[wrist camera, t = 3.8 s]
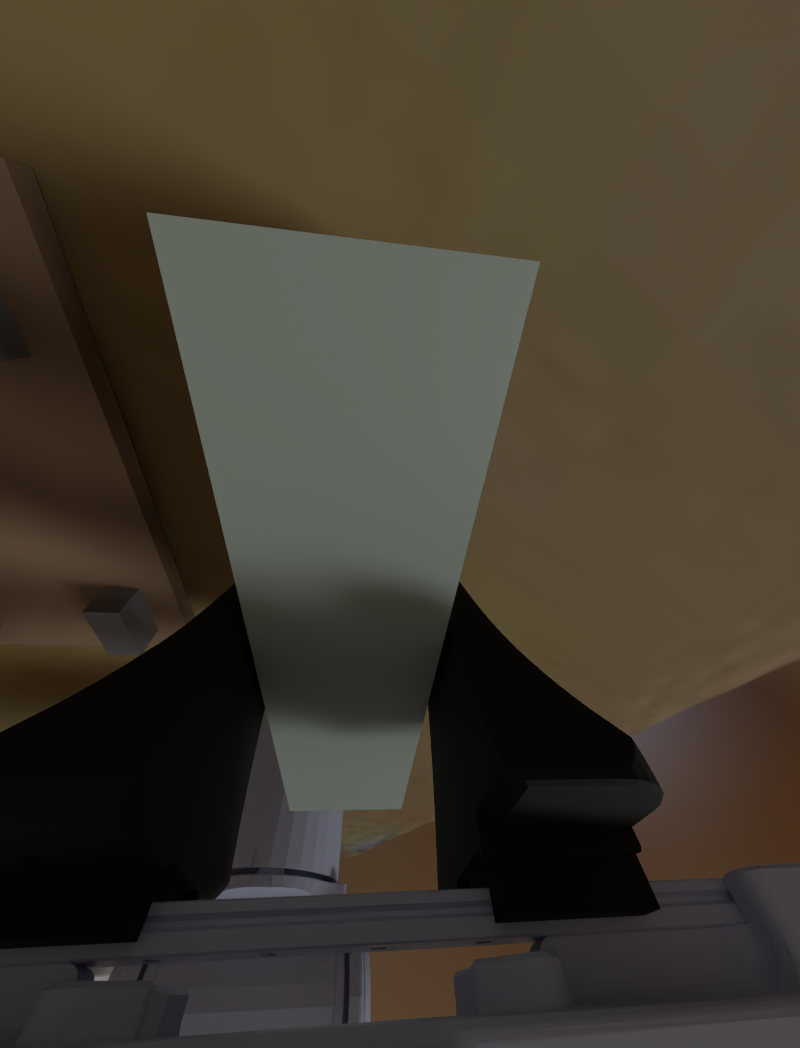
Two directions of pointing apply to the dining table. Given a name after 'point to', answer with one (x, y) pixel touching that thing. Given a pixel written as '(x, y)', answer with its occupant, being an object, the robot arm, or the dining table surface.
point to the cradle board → (68, 462)
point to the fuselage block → (343, 469)
